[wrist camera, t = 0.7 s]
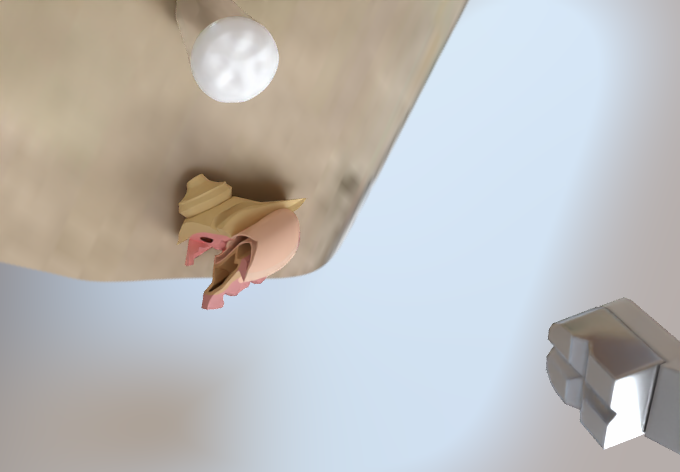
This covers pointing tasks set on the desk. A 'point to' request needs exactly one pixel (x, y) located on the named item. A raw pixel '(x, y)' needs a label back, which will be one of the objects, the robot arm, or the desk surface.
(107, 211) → the desk surface
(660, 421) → the robot arm
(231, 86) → the milkshake
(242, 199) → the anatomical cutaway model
